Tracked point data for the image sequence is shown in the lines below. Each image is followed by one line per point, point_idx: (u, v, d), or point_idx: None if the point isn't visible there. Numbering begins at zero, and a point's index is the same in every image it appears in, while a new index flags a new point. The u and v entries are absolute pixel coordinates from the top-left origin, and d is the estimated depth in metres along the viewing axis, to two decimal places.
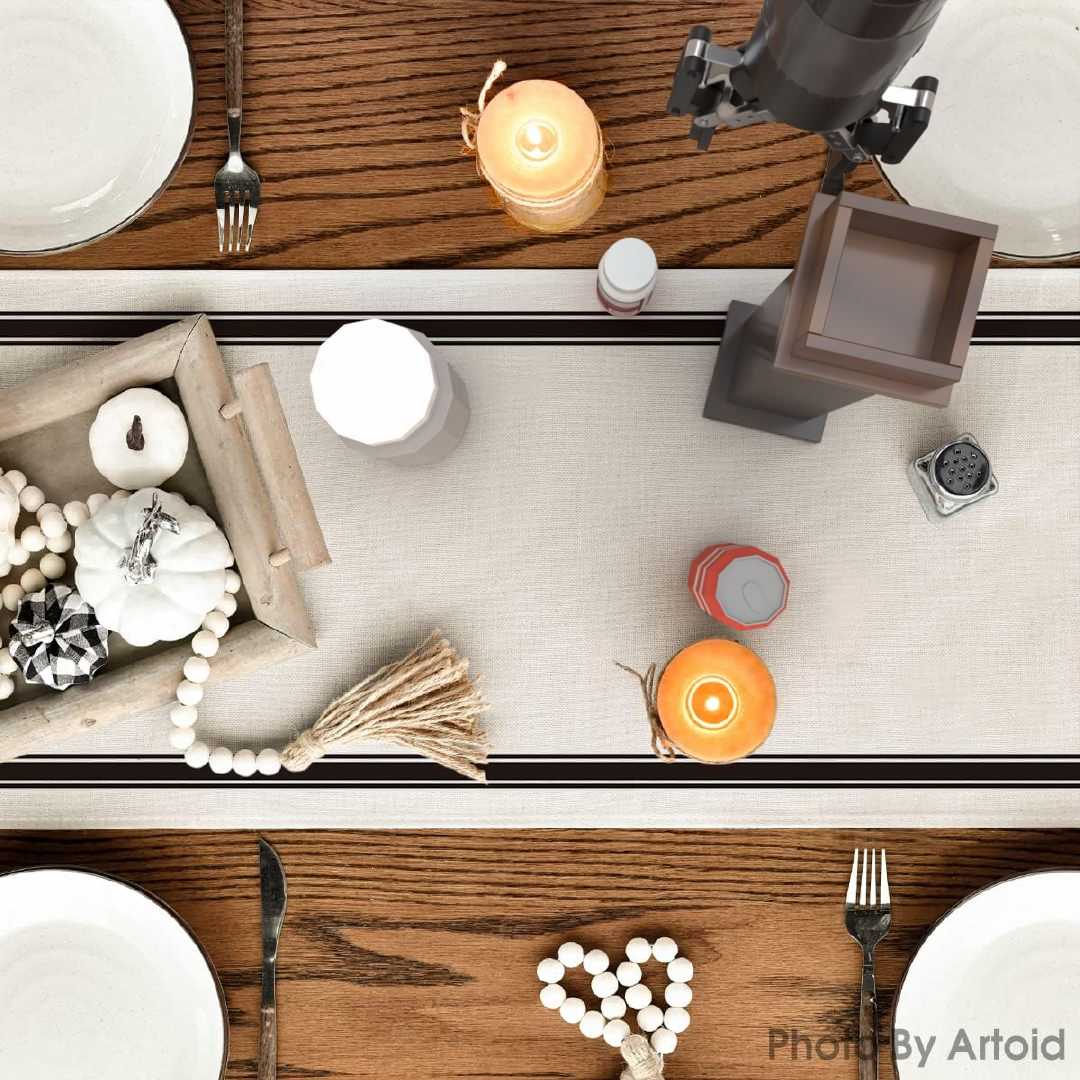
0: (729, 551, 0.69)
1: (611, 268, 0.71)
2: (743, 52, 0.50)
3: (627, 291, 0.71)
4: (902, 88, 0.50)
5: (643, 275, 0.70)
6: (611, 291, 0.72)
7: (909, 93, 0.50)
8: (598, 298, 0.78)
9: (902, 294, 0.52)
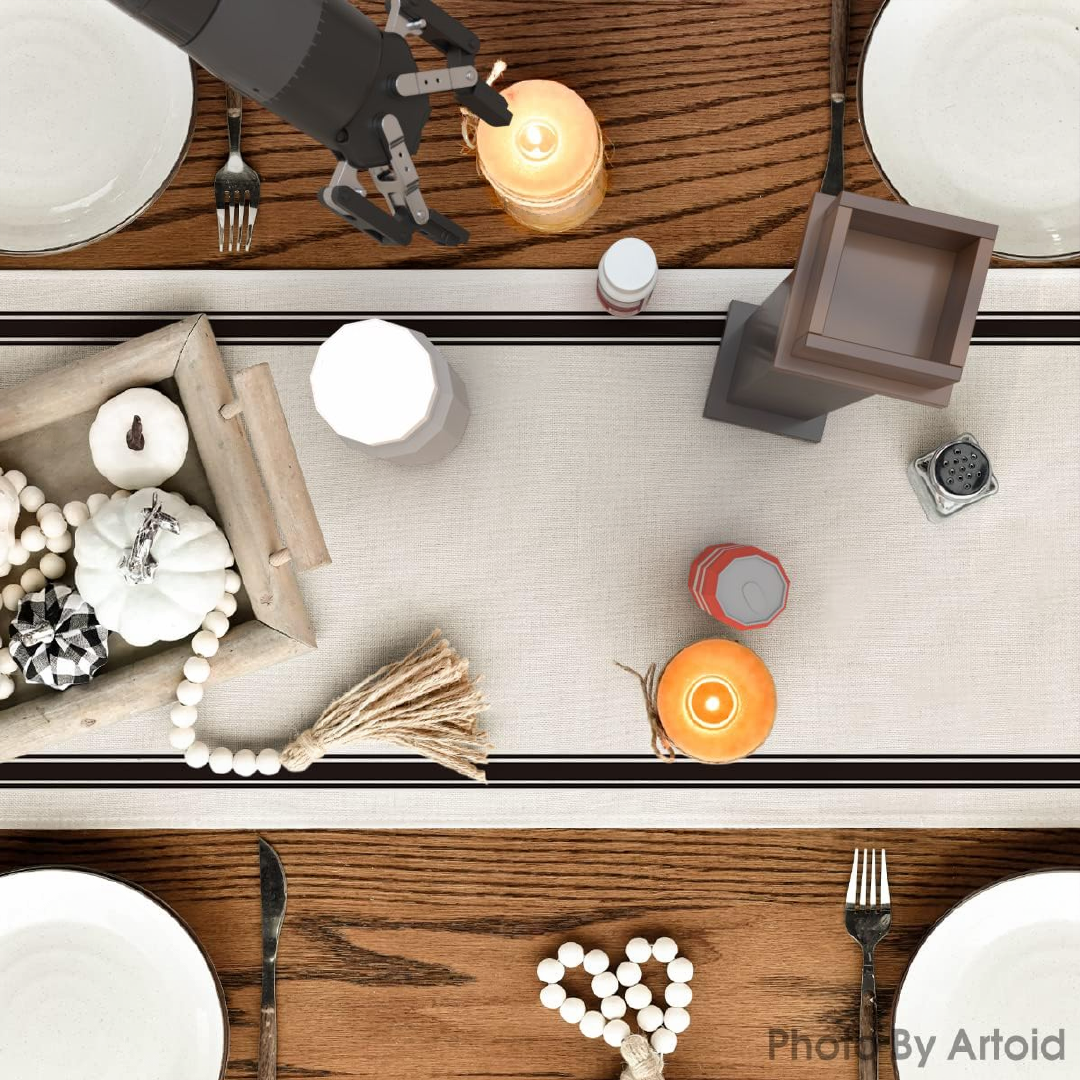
0: (729, 551, 0.69)
1: (611, 268, 0.71)
2: None
3: (627, 291, 0.71)
4: (340, 173, 0.56)
5: (643, 275, 0.70)
6: (611, 291, 0.72)
7: (336, 179, 0.57)
8: (598, 298, 0.78)
9: (902, 294, 0.52)
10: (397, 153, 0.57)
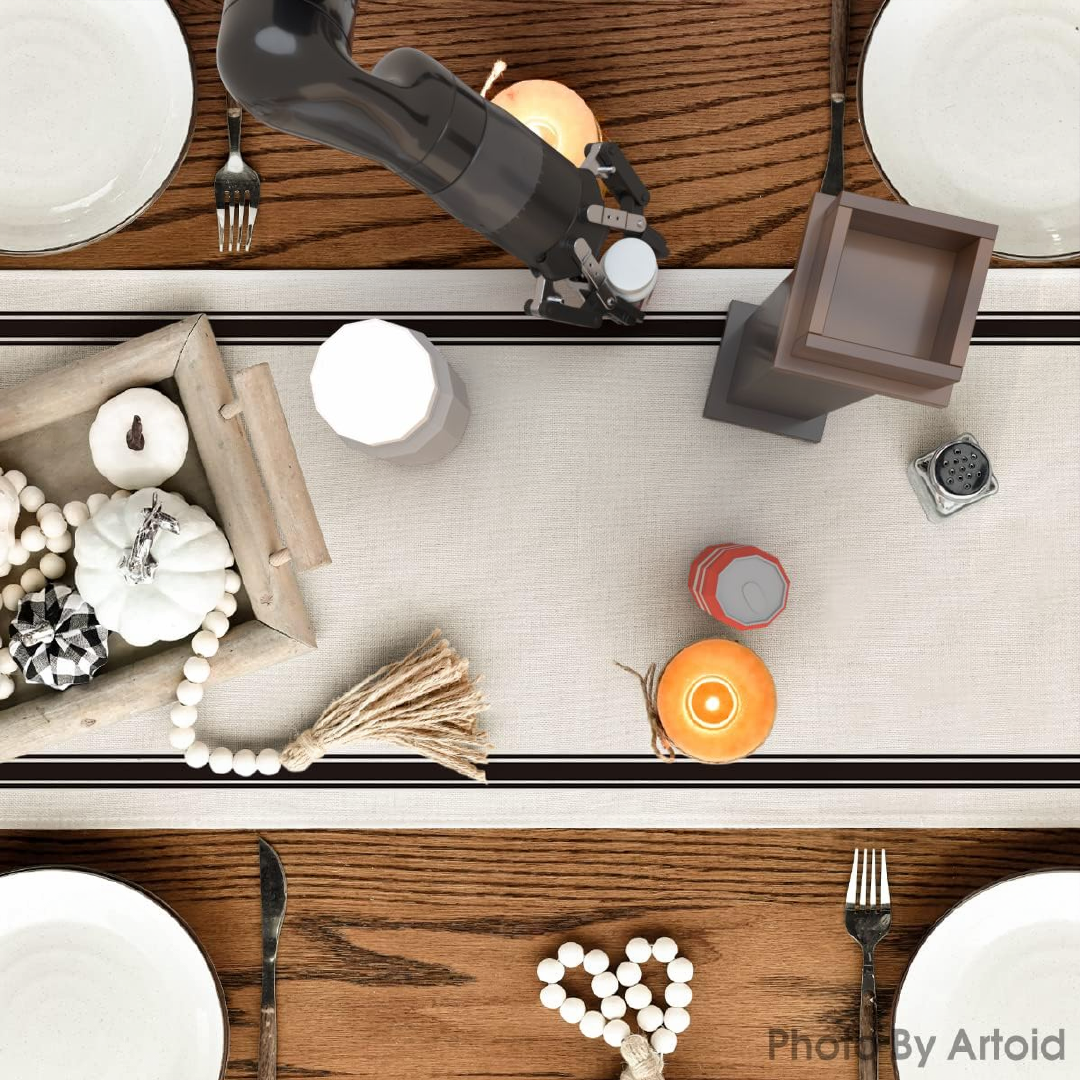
0: (729, 551, 0.69)
1: (611, 268, 0.71)
2: None
3: (627, 291, 0.71)
4: (541, 290, 0.67)
5: (643, 275, 0.70)
6: None
7: (539, 296, 0.68)
8: None
9: (902, 294, 0.52)
10: (588, 265, 0.68)
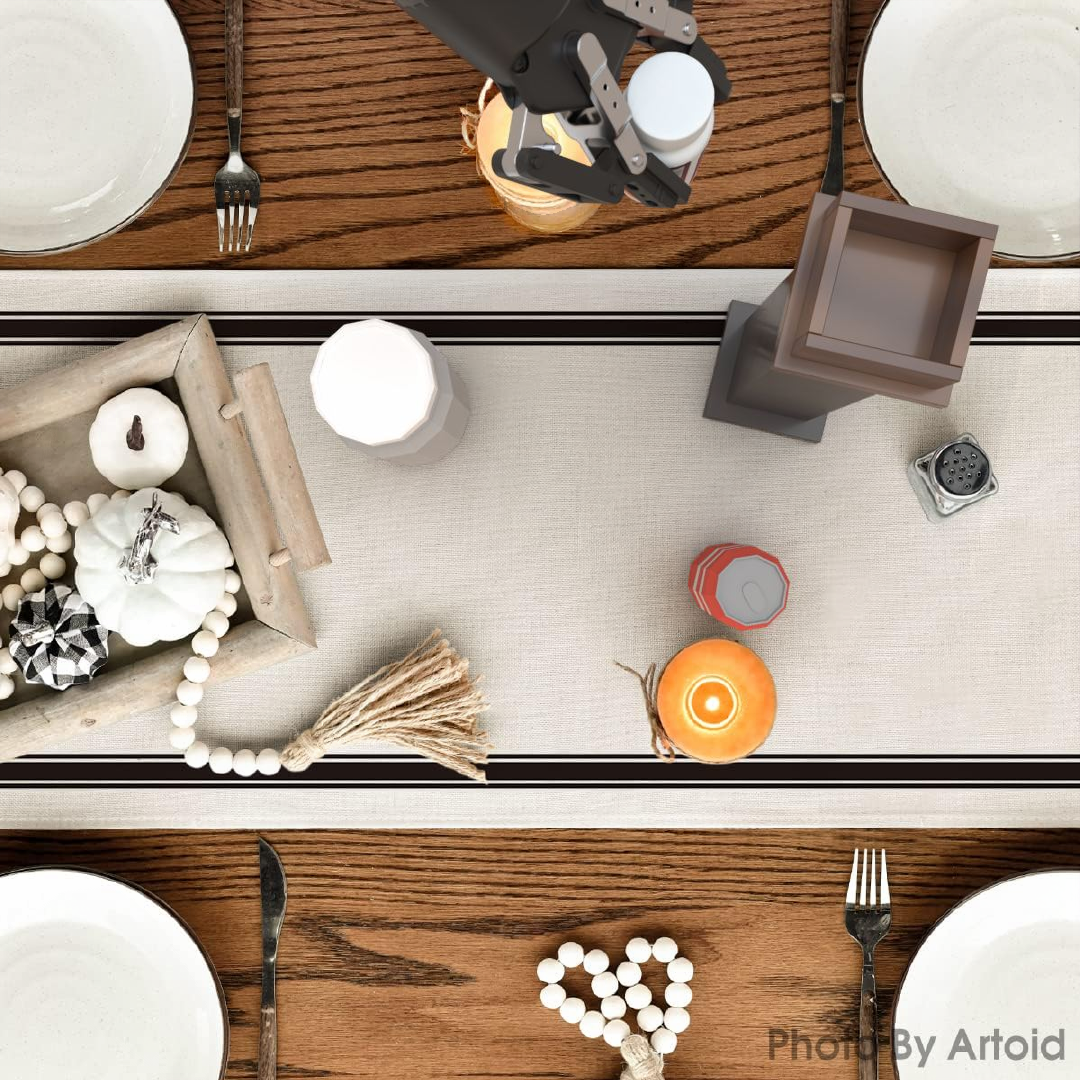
0: (729, 551, 0.69)
1: (638, 103, 0.42)
2: None
3: (665, 143, 0.43)
4: (521, 128, 0.39)
5: (692, 115, 0.42)
6: None
7: (517, 139, 0.39)
8: None
9: (902, 294, 0.52)
10: (601, 86, 0.40)
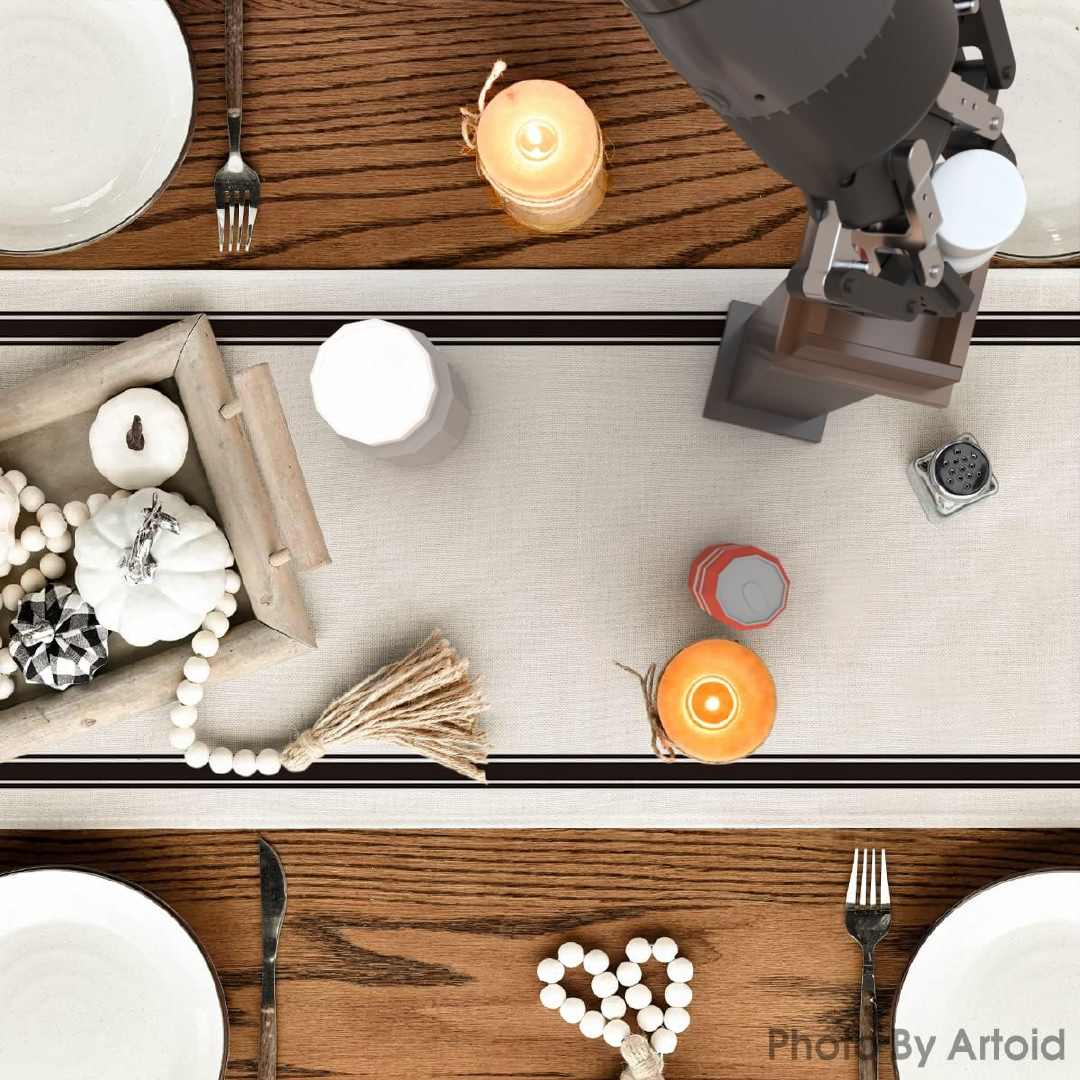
0: (729, 551, 0.69)
1: (940, 207, 0.37)
2: None
3: (966, 252, 0.37)
4: (833, 246, 0.34)
5: (1002, 221, 0.37)
6: None
7: (826, 258, 0.34)
8: None
9: None
10: (920, 196, 0.34)
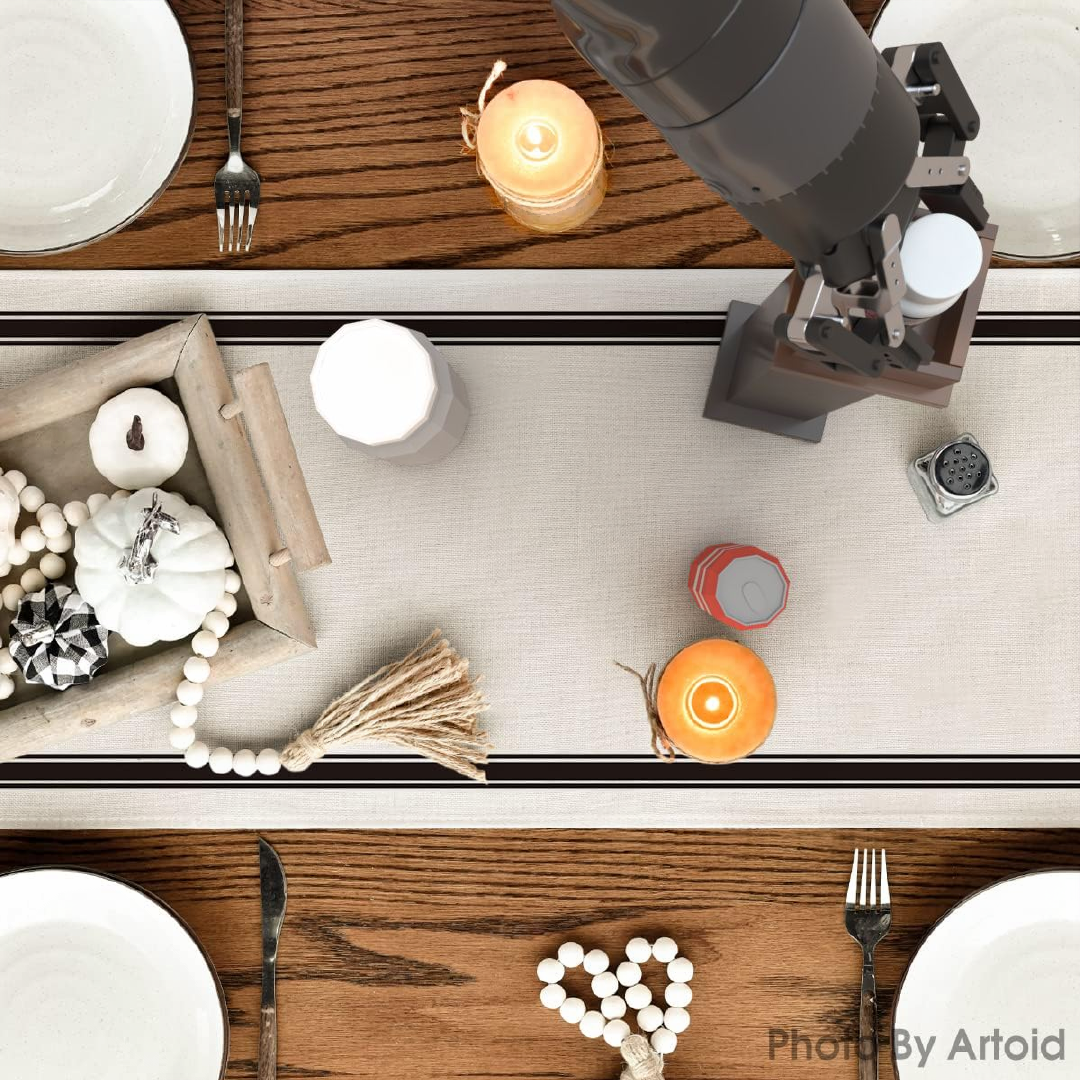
0: (729, 551, 0.69)
1: (908, 262, 0.43)
2: None
3: (931, 300, 0.44)
4: (815, 298, 0.40)
5: (961, 274, 0.43)
6: None
7: (809, 308, 0.40)
8: None
9: None
10: (889, 263, 0.41)
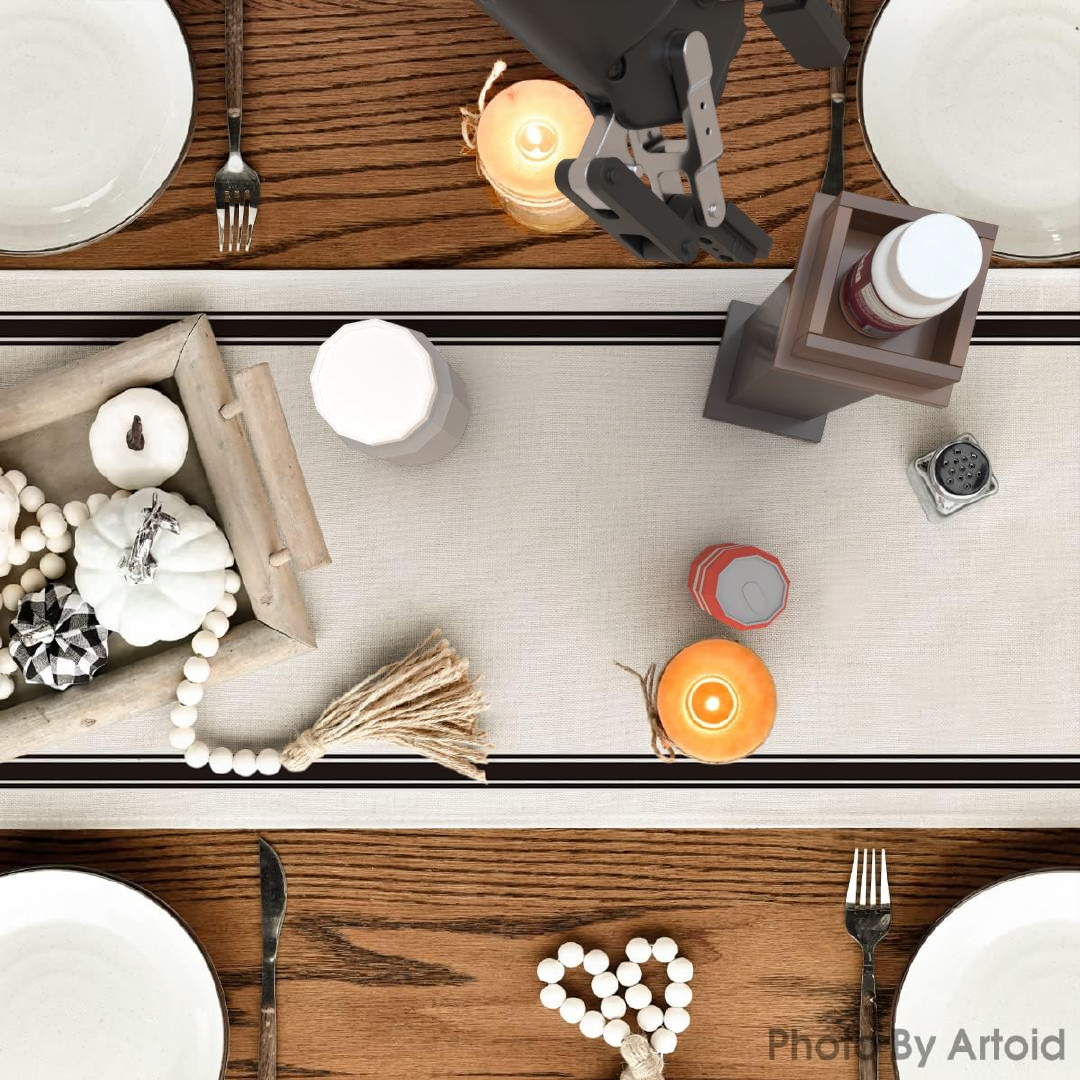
0: (729, 551, 0.69)
1: (908, 262, 0.43)
2: None
3: (931, 300, 0.44)
4: (603, 135, 0.32)
5: (961, 274, 0.43)
6: (896, 299, 0.45)
7: (595, 147, 0.32)
8: (845, 310, 0.51)
9: None
10: (698, 102, 0.33)
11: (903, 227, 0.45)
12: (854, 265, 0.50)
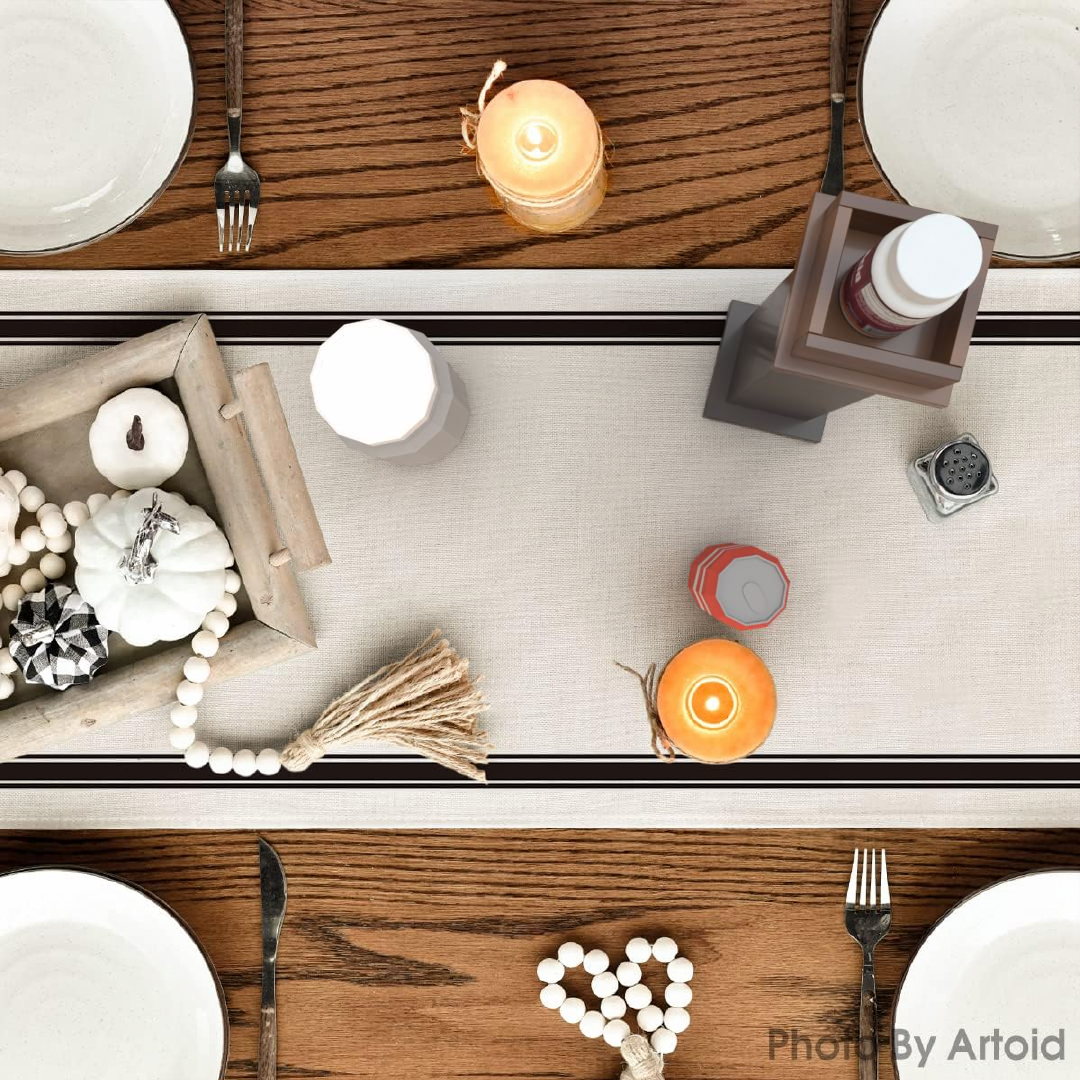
0: (729, 551, 0.69)
1: (908, 262, 0.43)
2: None
3: (931, 300, 0.44)
4: None
5: (961, 274, 0.43)
6: (896, 299, 0.45)
7: None
8: (845, 310, 0.51)
9: None
10: None
11: (903, 227, 0.45)
12: (854, 265, 0.50)
